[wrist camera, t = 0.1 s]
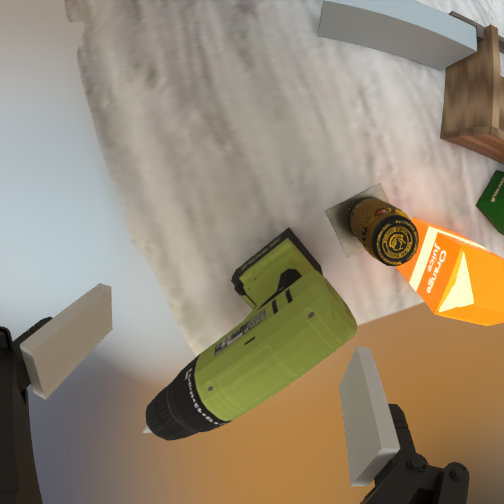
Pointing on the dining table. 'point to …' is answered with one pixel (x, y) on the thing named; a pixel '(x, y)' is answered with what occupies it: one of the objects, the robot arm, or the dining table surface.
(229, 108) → the dining table surface
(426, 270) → the orange juice
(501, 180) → the milk carton
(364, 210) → the condiment
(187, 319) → the dining table surface
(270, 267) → the cordless drill
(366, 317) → the dining table surface
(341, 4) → the door
